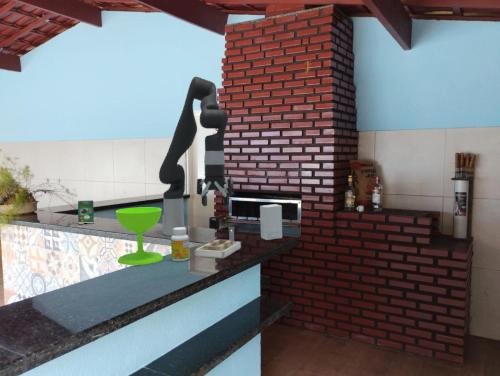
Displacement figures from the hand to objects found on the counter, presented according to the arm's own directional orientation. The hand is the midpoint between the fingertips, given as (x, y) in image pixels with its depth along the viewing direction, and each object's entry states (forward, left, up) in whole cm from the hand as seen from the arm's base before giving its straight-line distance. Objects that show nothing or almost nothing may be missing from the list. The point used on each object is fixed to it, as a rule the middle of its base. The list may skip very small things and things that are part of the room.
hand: (215, 206), depth 159 cm
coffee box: (-99, +45, -18) cm, 110 cm away
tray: (0, +2, -18) cm, 18 cm away
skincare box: (+12, +33, -18) cm, 39 cm away
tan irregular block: (0, +2, -18) cm, 18 cm away
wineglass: (-23, -16, -18) cm, 33 cm away
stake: (-1, +18, -18) cm, 25 cm away
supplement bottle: (-9, -12, -18) cm, 24 cm away
